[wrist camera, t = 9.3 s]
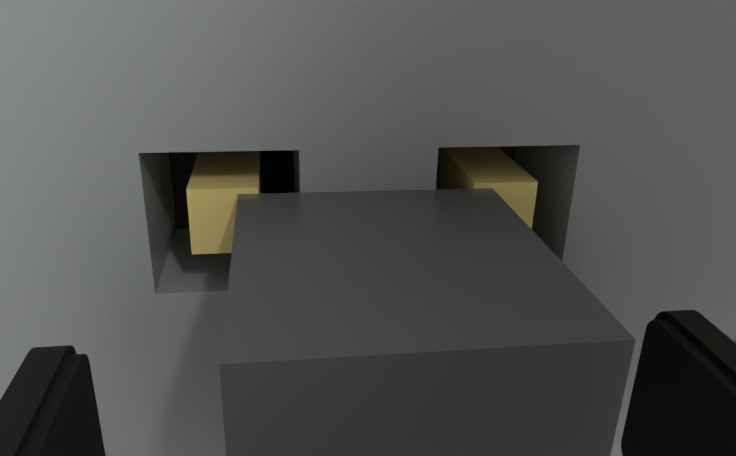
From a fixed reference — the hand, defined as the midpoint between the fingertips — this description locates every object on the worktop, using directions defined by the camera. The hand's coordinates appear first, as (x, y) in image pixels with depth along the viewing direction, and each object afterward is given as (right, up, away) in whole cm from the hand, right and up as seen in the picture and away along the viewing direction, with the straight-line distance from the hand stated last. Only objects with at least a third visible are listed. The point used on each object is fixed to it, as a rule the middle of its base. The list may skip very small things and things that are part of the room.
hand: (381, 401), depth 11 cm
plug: (-1, +2, +4) cm, 4 cm away
